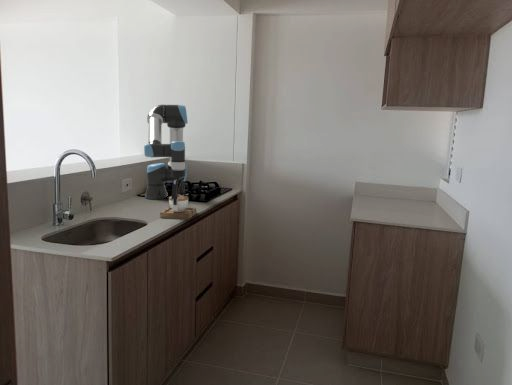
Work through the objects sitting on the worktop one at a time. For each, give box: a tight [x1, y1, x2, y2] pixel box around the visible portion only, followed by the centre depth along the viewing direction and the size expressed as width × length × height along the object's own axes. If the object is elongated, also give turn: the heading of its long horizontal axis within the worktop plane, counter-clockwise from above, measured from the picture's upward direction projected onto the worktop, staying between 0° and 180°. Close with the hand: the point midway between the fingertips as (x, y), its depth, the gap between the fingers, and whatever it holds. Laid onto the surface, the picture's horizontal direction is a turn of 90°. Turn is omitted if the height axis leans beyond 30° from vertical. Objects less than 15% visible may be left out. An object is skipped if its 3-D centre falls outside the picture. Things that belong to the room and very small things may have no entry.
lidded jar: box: [168, 193, 189, 212], centre depth 237 cm, size 11×11×9 cm
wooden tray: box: [159, 206, 197, 220], centre depth 238 cm, size 16×16×3 cm
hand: (178, 208), depth 238 cm, fingers open, 11 cm apart
